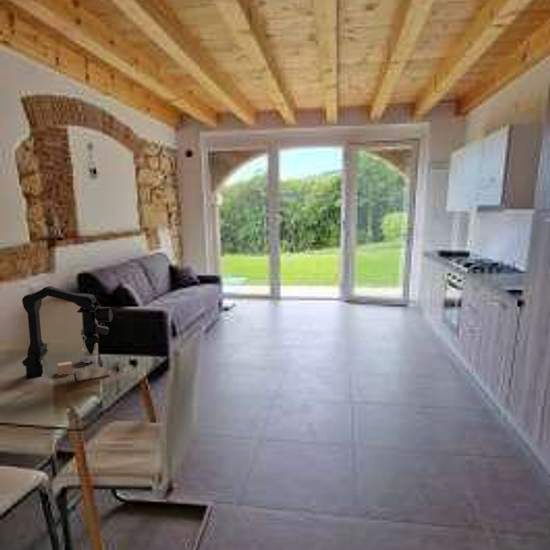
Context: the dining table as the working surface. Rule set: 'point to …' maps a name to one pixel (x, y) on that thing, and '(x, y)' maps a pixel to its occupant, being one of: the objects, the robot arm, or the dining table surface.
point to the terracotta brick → (64, 368)
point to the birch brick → (86, 352)
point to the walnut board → (92, 373)
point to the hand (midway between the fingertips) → (90, 352)
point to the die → (84, 359)
